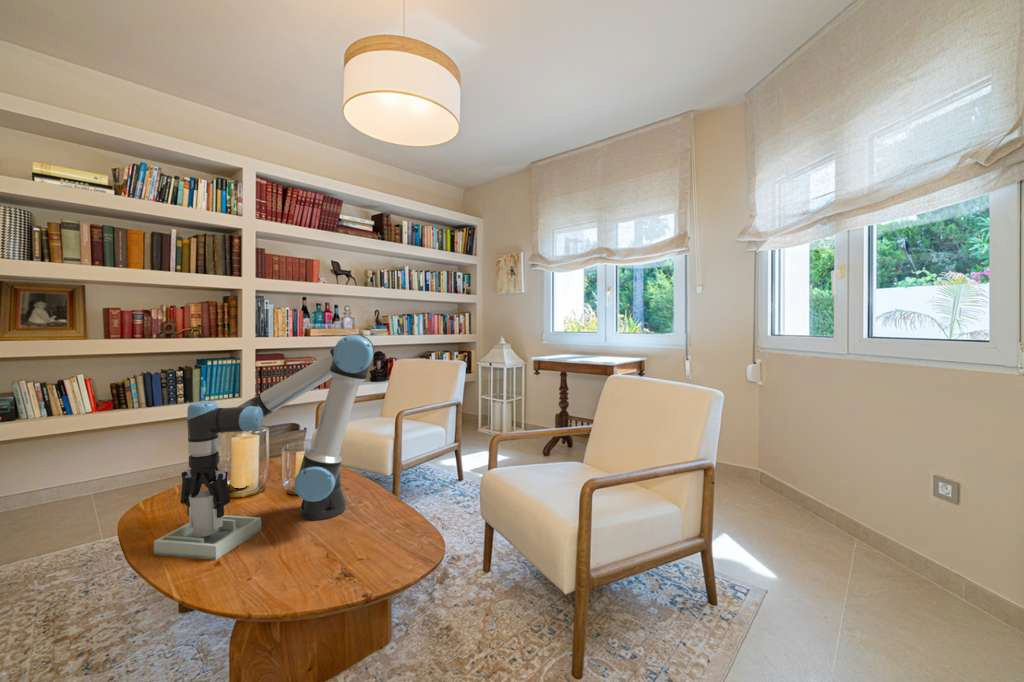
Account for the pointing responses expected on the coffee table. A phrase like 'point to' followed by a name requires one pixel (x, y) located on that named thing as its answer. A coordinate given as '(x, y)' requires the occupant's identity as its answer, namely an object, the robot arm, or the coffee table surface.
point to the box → (208, 539)
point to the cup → (202, 513)
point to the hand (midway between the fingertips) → (206, 526)
